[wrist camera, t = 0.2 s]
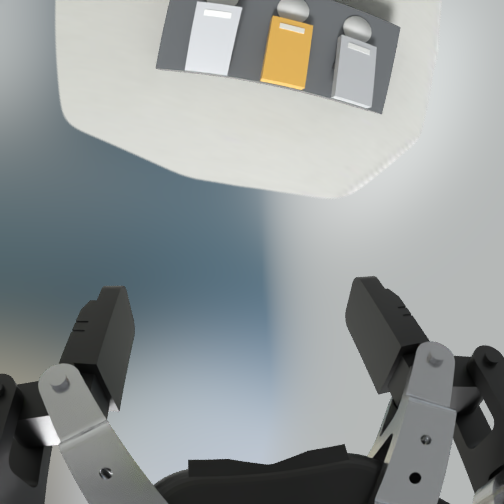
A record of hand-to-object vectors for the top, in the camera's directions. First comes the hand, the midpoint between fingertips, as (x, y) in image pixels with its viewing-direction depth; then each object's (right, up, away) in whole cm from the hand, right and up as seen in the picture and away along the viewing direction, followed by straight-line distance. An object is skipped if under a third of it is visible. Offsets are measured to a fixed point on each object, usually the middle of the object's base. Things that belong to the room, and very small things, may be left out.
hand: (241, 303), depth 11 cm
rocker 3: (+11, +20, +16) cm, 27 cm away
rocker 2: (+4, +20, +15) cm, 25 cm away
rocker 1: (-3, +21, +13) cm, 25 cm away
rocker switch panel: (+3, +25, +19) cm, 31 cm away
